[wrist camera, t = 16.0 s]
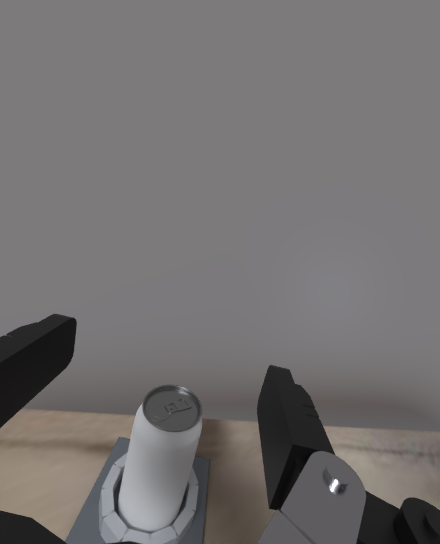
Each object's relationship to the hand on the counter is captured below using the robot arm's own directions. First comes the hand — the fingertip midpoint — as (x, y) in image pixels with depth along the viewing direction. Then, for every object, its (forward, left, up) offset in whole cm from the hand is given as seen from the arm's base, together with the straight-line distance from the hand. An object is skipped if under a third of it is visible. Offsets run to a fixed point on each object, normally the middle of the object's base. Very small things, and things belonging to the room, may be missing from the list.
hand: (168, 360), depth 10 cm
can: (0, -11, -24) cm, 26 cm away
